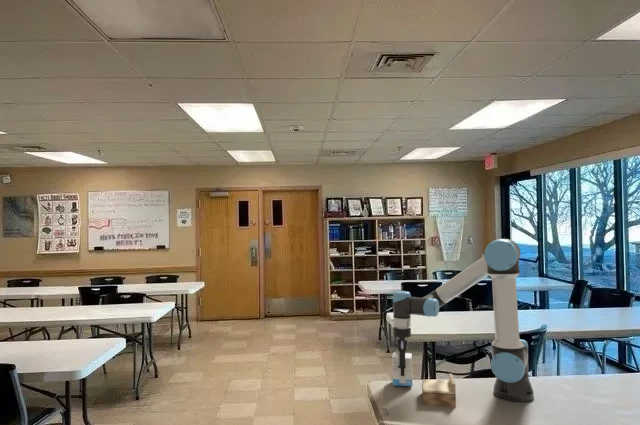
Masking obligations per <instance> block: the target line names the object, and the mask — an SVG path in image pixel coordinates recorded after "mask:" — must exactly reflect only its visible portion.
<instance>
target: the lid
mask: <svg viewBox="0 0 640 425" xmlns="http://www.w3.org/2000/svg"><path fill="white" fill-rule="evenodd" d="M422 384H423V392H429V393H444V394H455V395H456V393H457V392H456V388H457V387H456V382H455V379H454V375H453V373H448V380H439V379H425V378H424V379H423V378H422V379H421V385H422Z"/></svg>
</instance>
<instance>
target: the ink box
mask: <svg viewBox="0 0 640 425" xmlns="http://www.w3.org/2000/svg"><path fill="white" fill-rule="evenodd" d="M412 355H413V354H412V352H411V353H410V352H405V366H406V383H399V368H398V366H399V365H400V364H399V351H397V352H392V355H391V356H392V357H391V358H392V359H391V360H392V362H391V363H392V364H391V365H392V385H393V386H403V387H413V360H412V359H413V358H412Z"/></svg>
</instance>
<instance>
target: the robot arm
mask: <svg viewBox="0 0 640 425" xmlns="http://www.w3.org/2000/svg"><path fill="white" fill-rule="evenodd" d="M520 258H521V249H520V247H519V245H518V244H517V243H516V242H515V241H513V240H512V239H509V238H498V239H495V240H493V241H490V243H489V244H487V246H486V248H485V250H484V252H483V253H482V256H481V257H480V258H479V259H477V260H476V261H474V262H473V263H471V264H470V265H469V266H468V267H466V268H465V269H463V270H462V271H460V272H459V273H457V274H456V275H455V276H453V277H452V278H450V279H449V280H447V281H446V282H444V283H442V284H441V285H440V286H439V287H437V288H436V289H434V290H432V291H431V292H430V293H429V294H426V295H425V296H423V297H416V296H412V295H411V292H410V291H406V290H399V291H398V290H397V291H395V292H394V293H393V297H392V312H393V315H392V316H393V318H392V319H391V321H392V322H393V329H392V330H393V331H392V332H393V336H394V337H396V338H398V339H397V345H398V347H397V348H398V349H397V350H398V351H399V364H400V365H399V366H398V368H399V383H406V366H405V353H407V345H408V344H407V343H408V342H407V341H408V340H407V339H408V338H410V337H411V336H412V328H411V327H412V316H421V317H423V316H424V317H429V318H431V317H433V318H434V317H437V316H438V315H439V312H440V308H441V307H443V306H444V305H446V304H447V303H449V302H450V301H452V300H454V299H455V298H456V297H459V295H461V294H462V293H464V292H465V291H467V290H468V289H470V288H471V287H473V286H475V285H476V284H478V283H479V282H481V281H482V280H483V279H485V278H486V277H488V276H489V277H491V285H492V300H493V301H492V303H493V318H494V336H495V337H494V338H495V339H494V340H493V341H492V342H491V355H492V356H491V357H492V358H491V360H490V368H491V371H492V373H493V374H494V375H495V377H496V379H495V381H494V384H493V393H494V395H495V396H496V397H498V398H501V399H503V400H506V401H511V402H516V403H517V402H519V403H521V402H522V403H525V402H530V401H533V400H534V398H535V393H534V389H533V386H532V383H531V381H530V376H529V344H528V341H527V340H525V339H521V338H520V329H519V328H520V327H519V326H520V325H519V312H518V298H517V296H518V295H517V280H516V278H517V277H518V276H519V275H520ZM411 315H412V316H411ZM406 338H407V339H406ZM398 351H397V352H398Z"/></svg>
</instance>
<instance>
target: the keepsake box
mask: <svg viewBox="0 0 640 425" xmlns="http://www.w3.org/2000/svg"><path fill="white" fill-rule="evenodd" d="M421 386H422V387H421V389H422V390H421V391H422V394H421V395H422V402H423V406H431V407H433V406H434V407H445V408H446V407H447V408H457V400H456V399H457V397H456V396H457V395H456V394H444V393H429V392H423V384H422V383H421Z"/></svg>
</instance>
